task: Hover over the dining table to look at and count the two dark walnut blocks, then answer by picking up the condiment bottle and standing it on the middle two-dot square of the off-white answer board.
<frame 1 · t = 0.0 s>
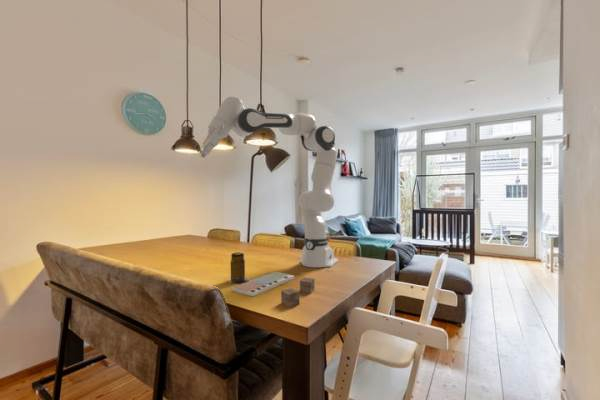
hand: (203, 155, 124), 54 cm above the table, tool tilted 30°, fingers open, 8 cm apart
walnut block b: (290, 304, 98), on the table
condiment: (239, 281, 123), on the table
walnut block a: (307, 291, 111), on the table
answer board: (265, 284, 119), on the table
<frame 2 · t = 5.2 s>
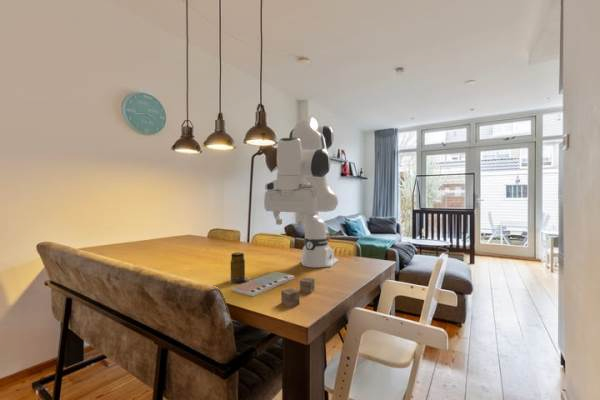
hand: (290, 225, 97), 27 cm above the table, tool pointing down, fingers open, 8 cm apart
nothing on the table moved.
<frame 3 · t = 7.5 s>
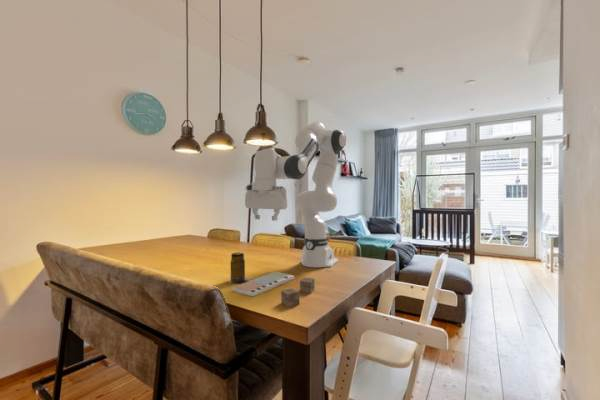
hand: (265, 219, 118), 27 cm above the table, tool pointing down, fingers open, 8 cm apart
nothing on the table moved.
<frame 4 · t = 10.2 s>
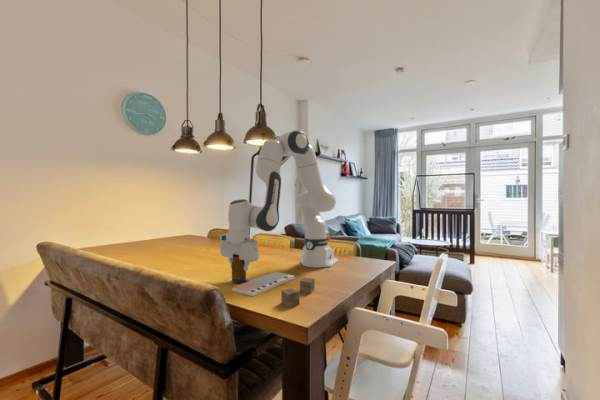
hand: (239, 269, 123), 5 cm above the table, tool pointing down, fingers closed on condiment, 6 cm apart
condiment: (240, 281, 123), on the table, touching gripper
everything else where it was.
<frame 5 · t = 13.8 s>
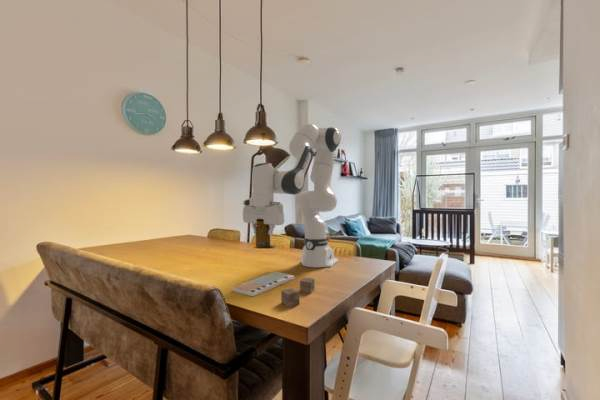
hand: (263, 234, 119), 21 cm above the table, tool pointing down, fingers closed on condiment, 6 cm apart
condiment: (264, 247, 119), point 15 cm above the table, touching gripper
everything else where it was.
when the fingers open (8 cm above the table, at t = 17.0 s): condiment drops 1 cm, resting on answer board.
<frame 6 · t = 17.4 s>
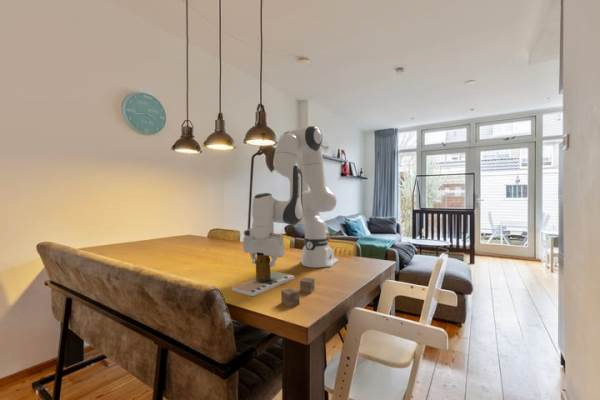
hand: (263, 265, 119), 8 cm above the table, tool pointing down, fingers open, 8 cm apart
condiment: (265, 281, 119), point 1 cm above the table, touching answer board
everything else where it was.
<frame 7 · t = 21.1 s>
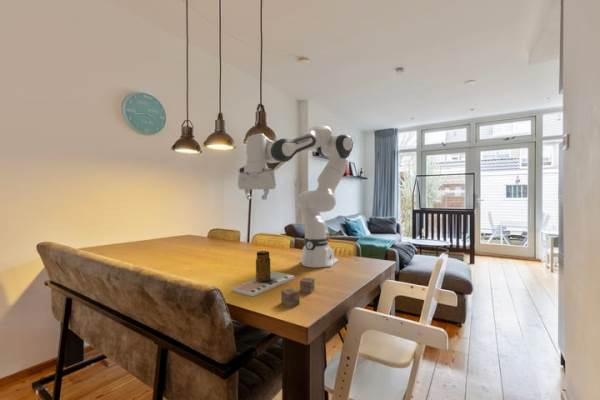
hand: (256, 199, 130), 35 cm above the table, tool pointing down, fingers open, 8 cm apart
nothing on the table moved.
at the end: condiment 0.8 cm from the target spot on the answer board, point 1.2 cm above the answer board's base; condiment tilted 0°; the gripper is holding nothing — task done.
